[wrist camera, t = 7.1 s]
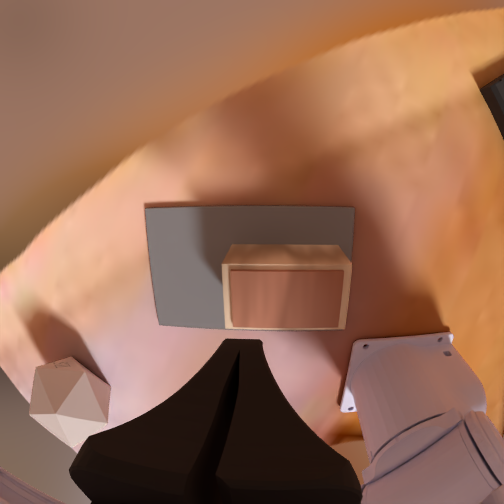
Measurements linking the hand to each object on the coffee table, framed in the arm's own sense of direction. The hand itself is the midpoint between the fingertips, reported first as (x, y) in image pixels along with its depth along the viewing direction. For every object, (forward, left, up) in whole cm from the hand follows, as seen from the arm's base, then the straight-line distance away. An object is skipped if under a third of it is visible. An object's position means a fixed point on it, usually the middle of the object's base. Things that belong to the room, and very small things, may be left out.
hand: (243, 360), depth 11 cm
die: (+18, +13, -11) cm, 24 cm away
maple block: (+2, 0, -8) cm, 8 cm away
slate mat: (+1, 0, -10) cm, 10 cm away
